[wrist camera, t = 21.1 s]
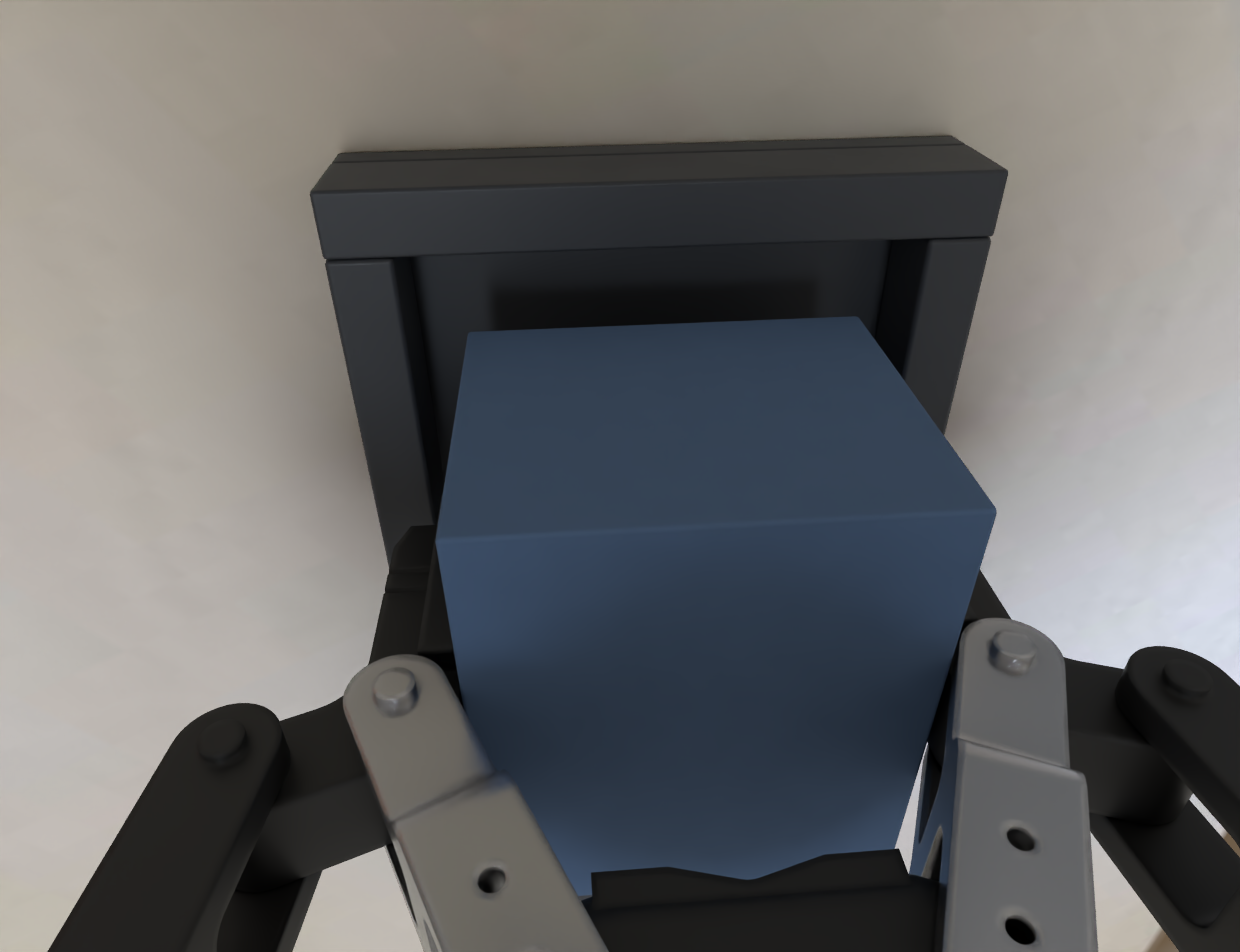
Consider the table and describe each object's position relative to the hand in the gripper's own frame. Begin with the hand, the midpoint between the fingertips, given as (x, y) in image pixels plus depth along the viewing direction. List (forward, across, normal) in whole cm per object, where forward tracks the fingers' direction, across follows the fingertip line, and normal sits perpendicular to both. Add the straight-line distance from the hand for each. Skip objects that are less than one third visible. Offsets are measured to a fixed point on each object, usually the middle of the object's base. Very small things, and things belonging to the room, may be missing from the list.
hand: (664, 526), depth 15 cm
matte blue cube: (+1, 0, 0) cm, 1 cm away
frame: (+3, 0, +4) cm, 5 cm away
